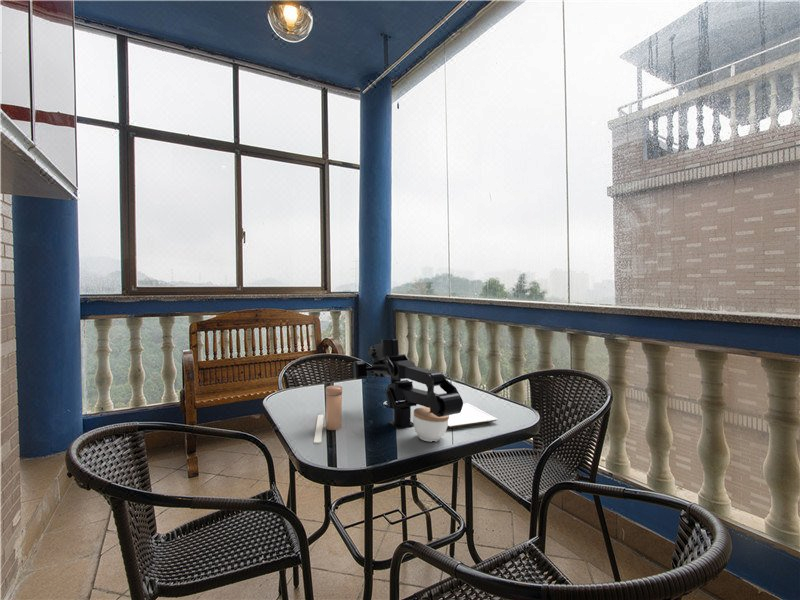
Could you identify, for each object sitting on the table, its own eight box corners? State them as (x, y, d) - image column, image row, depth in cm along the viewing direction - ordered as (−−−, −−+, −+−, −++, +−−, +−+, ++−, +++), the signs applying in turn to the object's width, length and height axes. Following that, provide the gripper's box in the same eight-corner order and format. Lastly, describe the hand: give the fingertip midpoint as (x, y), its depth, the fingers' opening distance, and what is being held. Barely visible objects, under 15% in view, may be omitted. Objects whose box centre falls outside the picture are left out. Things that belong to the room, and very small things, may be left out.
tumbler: (344, 428, 126) (344, 388, 126) (328, 431, 124) (328, 390, 123) (339, 423, 131) (339, 384, 130) (323, 425, 129) (323, 386, 128)
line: (320, 443, 115) (320, 441, 115) (313, 443, 114) (313, 442, 114) (323, 415, 138) (323, 414, 138) (318, 416, 138) (318, 414, 138)
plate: (448, 432, 125) (449, 425, 125) (423, 413, 143) (423, 408, 143) (498, 424, 132) (498, 418, 132) (468, 408, 150) (468, 402, 150)
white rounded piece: (442, 447, 112) (445, 414, 112) (406, 439, 116) (409, 407, 116) (449, 436, 122) (452, 406, 122) (416, 429, 126) (419, 400, 126)
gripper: (408, 343, 144) (387, 343, 157) (361, 347, 134) (343, 348, 148) (410, 373, 143) (389, 372, 156) (364, 380, 133) (345, 378, 147)
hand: (367, 366), depth 152 cm, fingers open, 9 cm apart
